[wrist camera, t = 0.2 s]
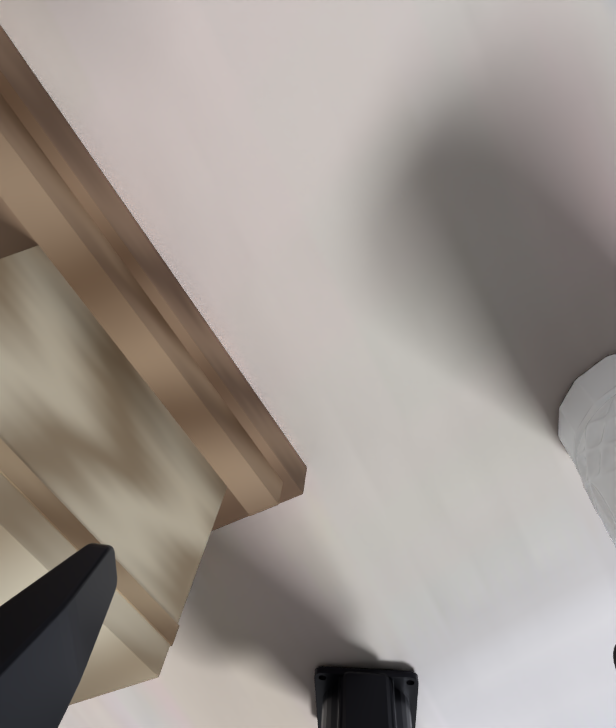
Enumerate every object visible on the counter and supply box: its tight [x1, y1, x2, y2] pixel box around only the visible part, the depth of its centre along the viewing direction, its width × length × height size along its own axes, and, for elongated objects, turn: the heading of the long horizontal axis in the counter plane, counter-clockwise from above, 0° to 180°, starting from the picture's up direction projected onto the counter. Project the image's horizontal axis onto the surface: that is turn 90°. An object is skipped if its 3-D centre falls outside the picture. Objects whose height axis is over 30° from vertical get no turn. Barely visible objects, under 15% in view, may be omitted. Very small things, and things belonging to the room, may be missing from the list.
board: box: [0, 26, 307, 531], centre depth 20 cm, size 26×12×5 cm, turn 31°
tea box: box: [0, 245, 227, 705], centre depth 18 cm, size 13×6×9 cm, turn 31°
